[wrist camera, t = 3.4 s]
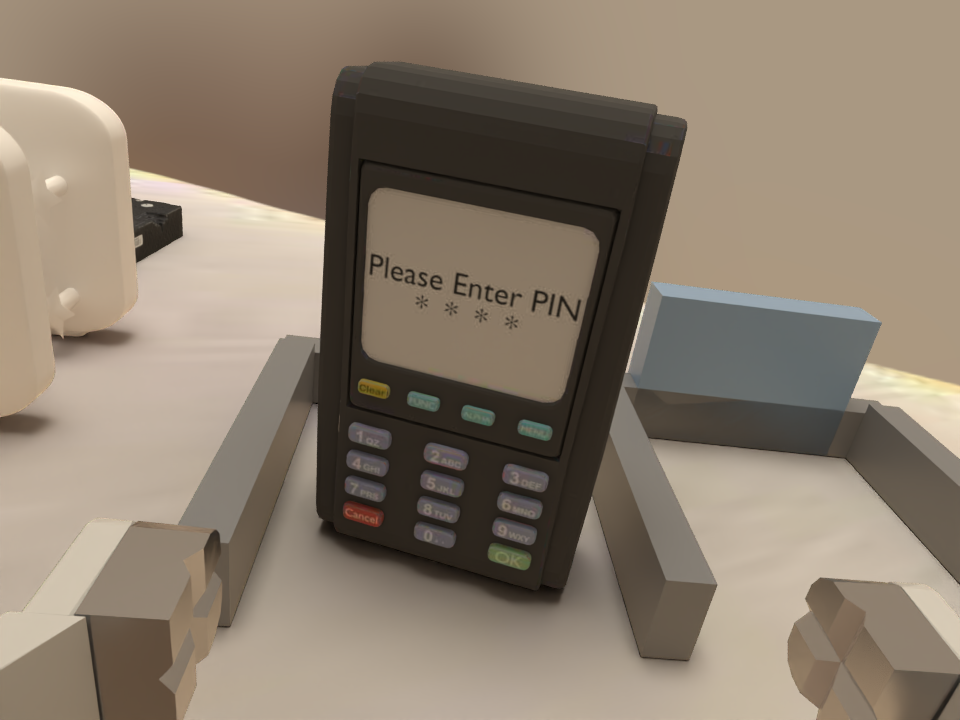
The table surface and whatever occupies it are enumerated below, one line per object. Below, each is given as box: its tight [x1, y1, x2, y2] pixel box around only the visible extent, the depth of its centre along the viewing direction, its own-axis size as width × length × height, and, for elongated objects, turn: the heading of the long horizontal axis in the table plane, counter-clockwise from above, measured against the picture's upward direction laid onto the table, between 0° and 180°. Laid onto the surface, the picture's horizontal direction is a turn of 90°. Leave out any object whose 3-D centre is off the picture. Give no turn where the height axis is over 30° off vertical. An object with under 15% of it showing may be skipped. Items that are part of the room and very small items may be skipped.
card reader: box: [316, 62, 687, 591], centre depth 21 cm, size 9×4×15 cm, turn 75°
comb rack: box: [178, 282, 960, 660], centre depth 26 cm, size 28×15×7 cm, turn 92°
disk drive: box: [131, 198, 183, 263], centre depth 45 cm, size 10×3×15 cm
